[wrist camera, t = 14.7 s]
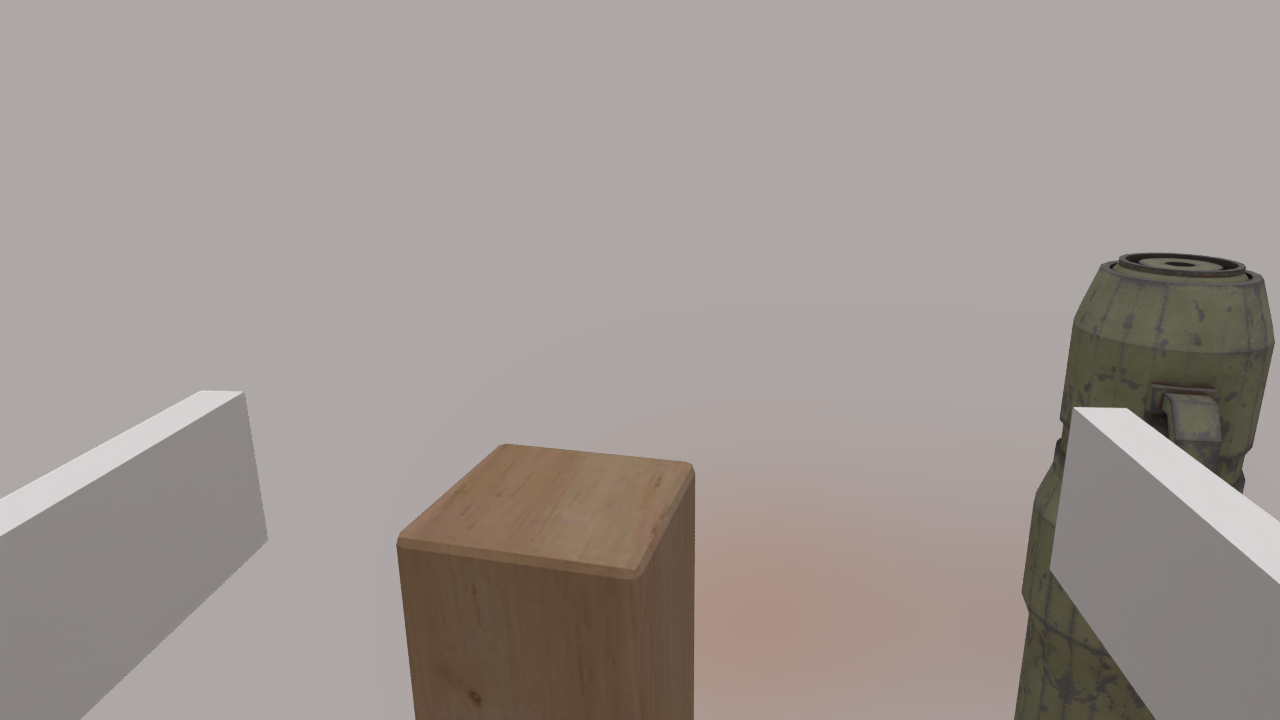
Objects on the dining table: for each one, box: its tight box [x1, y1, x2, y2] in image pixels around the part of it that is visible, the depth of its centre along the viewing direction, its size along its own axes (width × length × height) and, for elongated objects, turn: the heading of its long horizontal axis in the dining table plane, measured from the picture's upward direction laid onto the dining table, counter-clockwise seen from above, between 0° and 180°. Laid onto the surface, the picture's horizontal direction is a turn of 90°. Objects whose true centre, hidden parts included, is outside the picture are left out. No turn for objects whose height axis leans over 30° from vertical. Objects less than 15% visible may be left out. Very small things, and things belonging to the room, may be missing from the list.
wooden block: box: [396, 444, 695, 720], centre depth 38 cm, size 10×10×20 cm
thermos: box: [1014, 253, 1275, 720], centre depth 41 cm, size 9×12×35 cm
